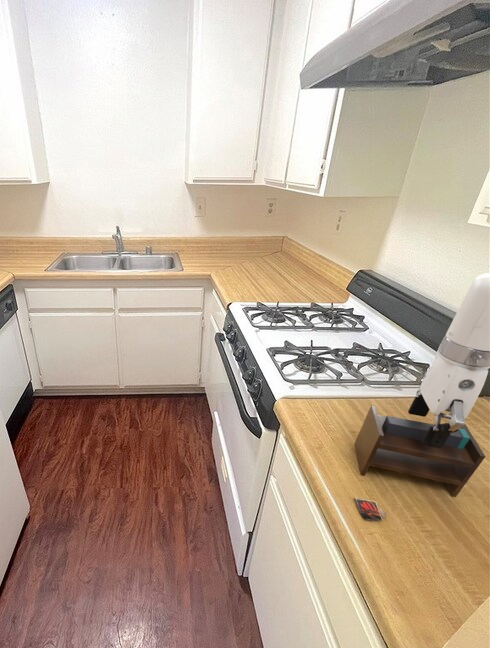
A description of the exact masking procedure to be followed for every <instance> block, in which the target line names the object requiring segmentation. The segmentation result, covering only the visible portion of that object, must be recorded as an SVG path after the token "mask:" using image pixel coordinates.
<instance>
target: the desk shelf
mask: <svg viewBox="0 0 490 648" xmlns="http://www.w3.org/2000/svg"><path fill="white" fill-rule="evenodd" d="M387 416H388V415H381V414H378V411H377V408H376V406H375V405H370V407H369V410H368V412H367V414H366V417H365V419H364V421H363V423H362V426H361V428H360V430H359V433H358V434H357V437H356V440H355V441H354V448H355V454H356V458H357V459H356V460H357V463H358V470H359V474H360V476H362V477H363V476H364V477H365V476H366V474H367V472H368V471H369V468H370V466H371V467H376V468H380V469H383V470H387V471H394V472H398V473H402V474H405V475H406V474H407V475H411V476H414V477H419V478H424V479H429V480H433V481H437V482H442V483H445V485H446V488H447V490H448V493H449V495H450V497H453V498H457V496H458V495H459V494H460V492H461V491H462V489H463V488H464V487H465V485H466V484H467V483H468V481H469V480H470V479H471V478H472V476H473V474H474V473H475V472H476V471H477V469H478V468H479V466H480V465H481V464H482V462H483V461H484V460H485V458H486V455H485V453H484V452H483V450H482V448H481V447H480V445H479V444H478V442H477V441H476V438H475V437H474V436H473V434H472V432H471V431H470V429H469V428H468V427H467V424H466V423H465V424H464V426H463V427H461V429H465V431H466V433H467V434H468V436H469V437H470V439H469V441H468V442H467V444H466V445H465V447H464V448H463V449H459V448H455V447H450V446H445V445H443V447H442V448H435V447H430V446H425V445H422V443H421V441H420V440H415V439H410V438H405V437H400V436H395V435H390V434H386V433H385V432H384V429H383V426H382V425H383V423H384V421H385V419H386V417H387Z"/></svg>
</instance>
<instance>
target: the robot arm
mask: <svg viewBox="0 0 490 648" xmlns="http://www.w3.org/2000/svg"><path fill="white" fill-rule="evenodd" d="M489 369H490V272H489V273H483V274H481V275H478V276H477V277H475V278H474V280H473V281H472V282H471V285H470V286H469V288H468V290H467V291H466V293H465V296H464V298H463V300H462V302H461V304H460V306H459V308H458V309H457V311H456V313H455V316H454V317H453V319H452V321H451V323H450V325H449V327H448V329H447V331H446V333H445V335H444V337H443V339H442V341H441V343H440V344H439V347H438V349H437V351H436V356H435V358H434V359H433V361H432V363H431V364H430V366H429V367H428V370H425V371H424V373H423V377H422V381H420V382H419V389H418V390H417V391H416V392H415V397H414V399H413V401H412V403H411V404H410V407H408V410H407V412H408V414H409V415H413V416H418V417H423V418H425V417H427V415H428V413H429V412H431V413H432V414H433V416H434V418H433V423H432V424H433V427H431V426H430V427H429V429H428V431H427V432H426V434H425V436H424V438H423V439H422V441H421V443H422V445H425V446H430V447H435V448H442V447H443V445H444V444H445V442H446V440H447V439H448V437H449V436H450V434H453V433H454V432H457V431H458V429H460V428H461V427H463V426H464V424H465V425H466V423H465V420H466V418H467V417H468V415H469V414H470V413H471V411H472V409H473V408H474V406H475V403H476V402H477V400H478V398H479V395H480V394H481V392H482V389H483V387H484V385H485V382H486V380H487V377H488V374H489ZM444 412H449V413H444ZM442 418H444V419H447V420H448V421H447V422H443V423H441V421H442Z"/></svg>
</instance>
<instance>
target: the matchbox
mask: <svg viewBox="0 0 490 648" xmlns="http://www.w3.org/2000/svg"><path fill="white" fill-rule="evenodd" d="M353 500H355V502H356V505H357V507H358V508H357V510H358V511H359V513H360V515H361V516H362V518H363V519H364V520H368V521H374V522H381V521H383V519H385V518H387V513H386V512H385V511H384V510H383V509H382V507H381V506H380V507H379V506H378V502H377V501H375V500H370V499H365V498H359V497H354V498H353Z"/></svg>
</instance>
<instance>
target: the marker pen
mask: <svg viewBox="0 0 490 648" xmlns="http://www.w3.org/2000/svg"><path fill="white" fill-rule="evenodd" d="M386 416H387V417H386V419H385V421H384V423H383V425H382V426H383V429H384V432H385V433H386V434H390V435H395V436H400V437H405V438H410V439H415V440H420V441H422V439H423V438H424V436H425V434H426V432H427V431H428V429H429V427H430V426H431V427H433V423H428V422H423V421H422V422H421V421H418V420H413V419H407V418H402V417H396V416H392V415H386ZM469 439H470V437H469V436H468V434H467V433H466V431H465V429H461V428H460V429H458V431H457V432H454V433H453V434H450V436H449V437H448V439H447V440H446V442H445V444H444V445H445V446H450V447H455V448H459V449H463V448H464V447H465V445H466V444H467V442H468V441H469Z"/></svg>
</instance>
